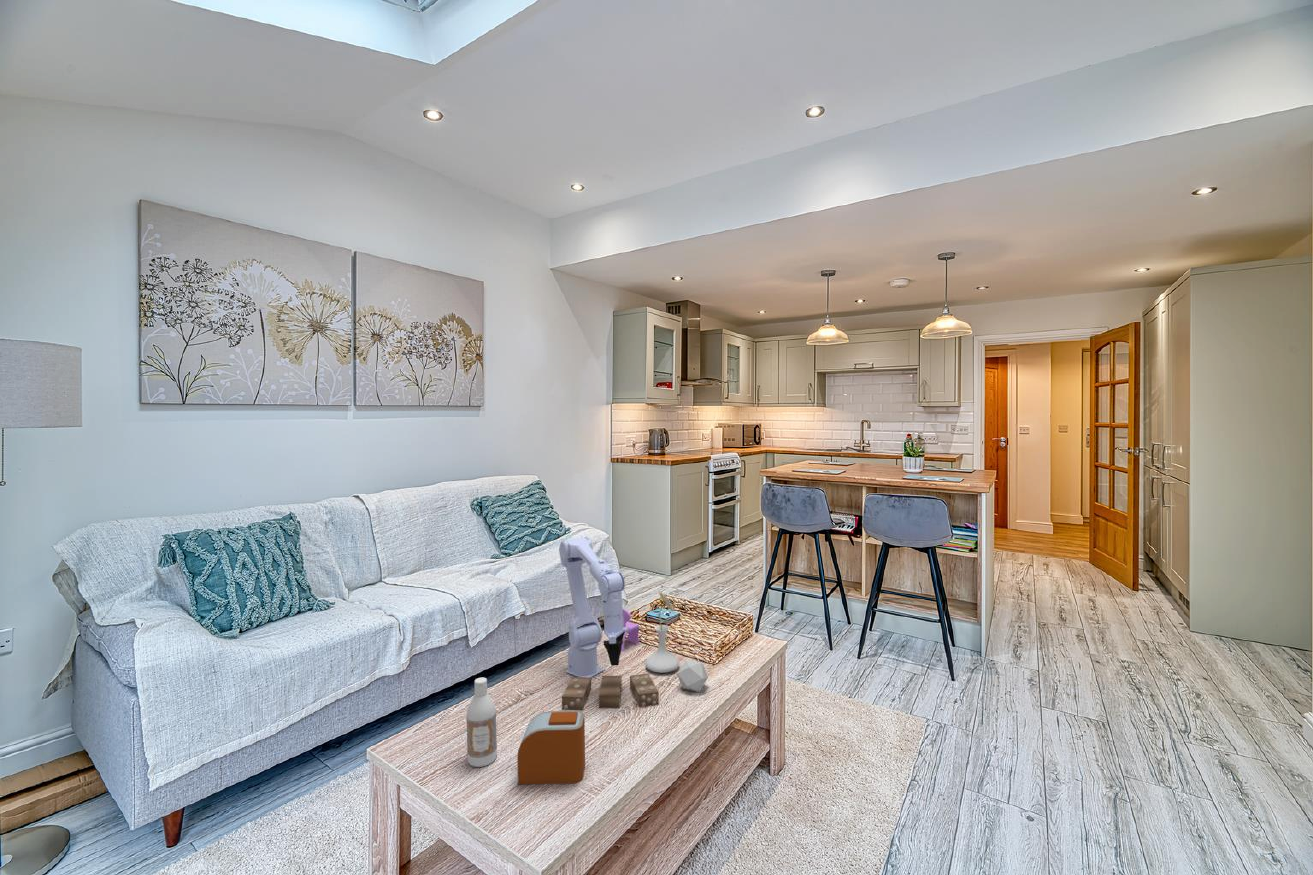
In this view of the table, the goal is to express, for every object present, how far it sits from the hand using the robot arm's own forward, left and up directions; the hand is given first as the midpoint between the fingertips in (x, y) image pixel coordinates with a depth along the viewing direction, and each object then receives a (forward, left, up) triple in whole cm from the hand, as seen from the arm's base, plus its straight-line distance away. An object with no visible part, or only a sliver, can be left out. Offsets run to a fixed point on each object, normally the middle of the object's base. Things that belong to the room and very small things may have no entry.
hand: (615, 660), depth 163 cm
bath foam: (-8, -41, -12) cm, 44 cm away
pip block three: (-10, -7, -12) cm, 17 cm away
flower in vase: (-1, +25, -12) cm, 28 cm away
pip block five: (+5, +6, -12) cm, 15 cm away
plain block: (-2, 0, -12) cm, 12 cm away
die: (+15, +19, -12) cm, 27 cm away
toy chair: (-22, +31, -12) cm, 40 cm away
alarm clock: (+10, -34, -12) cm, 38 cm away
